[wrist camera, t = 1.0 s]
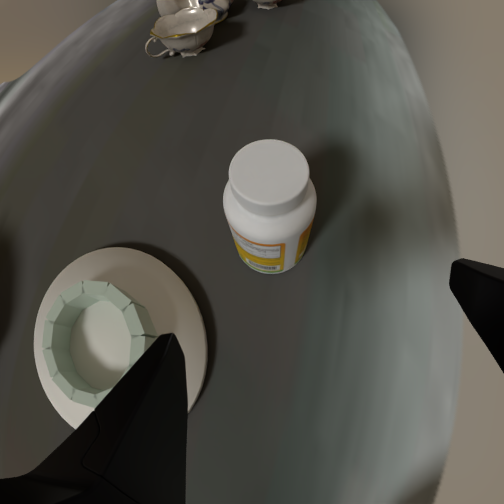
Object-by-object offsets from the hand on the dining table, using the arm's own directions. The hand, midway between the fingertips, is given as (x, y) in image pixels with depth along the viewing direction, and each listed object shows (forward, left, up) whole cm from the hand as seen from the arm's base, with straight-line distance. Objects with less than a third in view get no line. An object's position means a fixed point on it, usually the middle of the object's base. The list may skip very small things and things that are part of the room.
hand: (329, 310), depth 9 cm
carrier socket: (-9, +11, -13) cm, 20 cm away
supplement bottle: (+5, +5, -14) cm, 16 cm away
